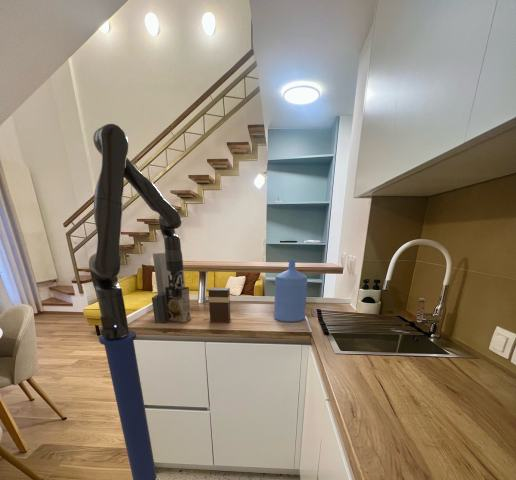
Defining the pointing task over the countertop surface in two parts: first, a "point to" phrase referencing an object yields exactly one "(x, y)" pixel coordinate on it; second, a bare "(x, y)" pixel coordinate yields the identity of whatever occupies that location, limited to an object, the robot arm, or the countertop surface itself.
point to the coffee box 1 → (178, 304)
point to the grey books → (160, 308)
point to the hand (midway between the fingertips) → (177, 295)
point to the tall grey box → (162, 272)
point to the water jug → (290, 295)
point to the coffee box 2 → (219, 304)
